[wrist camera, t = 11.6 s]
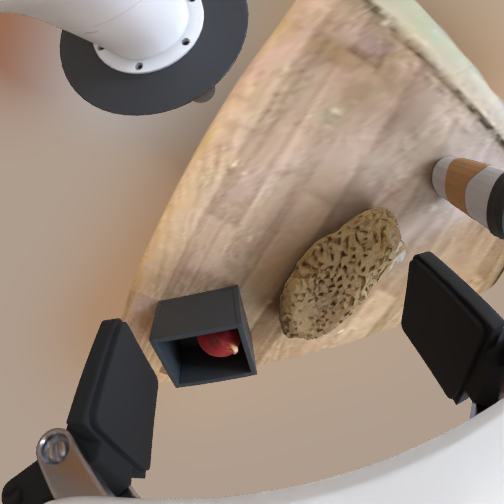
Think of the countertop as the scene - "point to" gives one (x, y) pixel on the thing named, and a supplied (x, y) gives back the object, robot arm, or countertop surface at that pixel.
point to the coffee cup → (472, 190)
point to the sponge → (339, 274)
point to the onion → (220, 342)
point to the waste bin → (200, 323)
